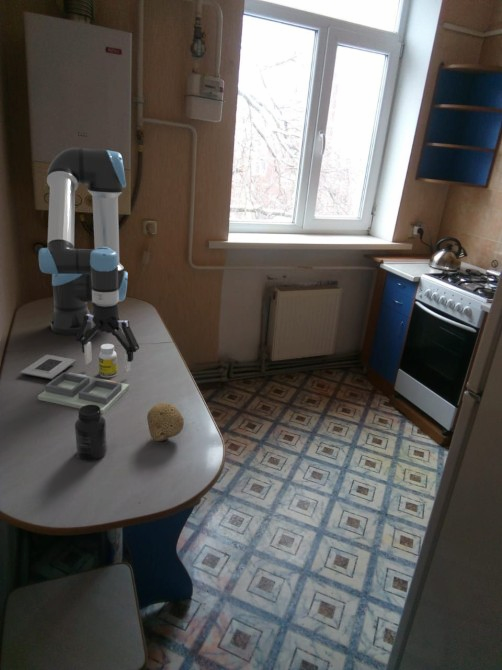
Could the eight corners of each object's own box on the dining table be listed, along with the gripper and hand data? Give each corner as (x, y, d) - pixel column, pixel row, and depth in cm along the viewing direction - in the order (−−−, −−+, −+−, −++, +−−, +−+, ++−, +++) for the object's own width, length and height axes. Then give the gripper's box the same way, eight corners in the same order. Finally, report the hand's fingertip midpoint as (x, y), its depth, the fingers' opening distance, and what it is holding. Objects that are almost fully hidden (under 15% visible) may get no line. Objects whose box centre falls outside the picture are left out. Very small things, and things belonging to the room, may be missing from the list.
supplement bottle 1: (112, 453, 108) (111, 410, 104) (86, 465, 103) (83, 422, 99) (97, 440, 112) (95, 398, 108) (71, 451, 107) (67, 408, 103)
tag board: (69, 375, 140) (69, 366, 139) (129, 388, 136) (129, 378, 135) (38, 399, 126) (37, 389, 125) (103, 413, 123) (102, 403, 122)
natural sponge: (183, 428, 120) (184, 396, 116) (183, 449, 112) (184, 415, 108) (148, 428, 119) (148, 395, 115) (145, 449, 111) (145, 415, 107)
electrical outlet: (52, 384, 135) (51, 377, 135) (20, 378, 137) (19, 371, 136) (76, 365, 147) (75, 359, 147) (47, 360, 149) (46, 353, 148)
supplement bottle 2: (95, 375, 141) (94, 347, 138) (105, 368, 146) (104, 341, 142) (110, 379, 140) (109, 351, 136) (120, 372, 145) (119, 344, 141)
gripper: (60, 299, 133) (65, 363, 141) (138, 313, 128) (139, 378, 136) (75, 292, 139) (79, 354, 148) (150, 305, 135) (150, 368, 143)
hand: (108, 366), depth 142 cm, fingers open, 13 cm apart
